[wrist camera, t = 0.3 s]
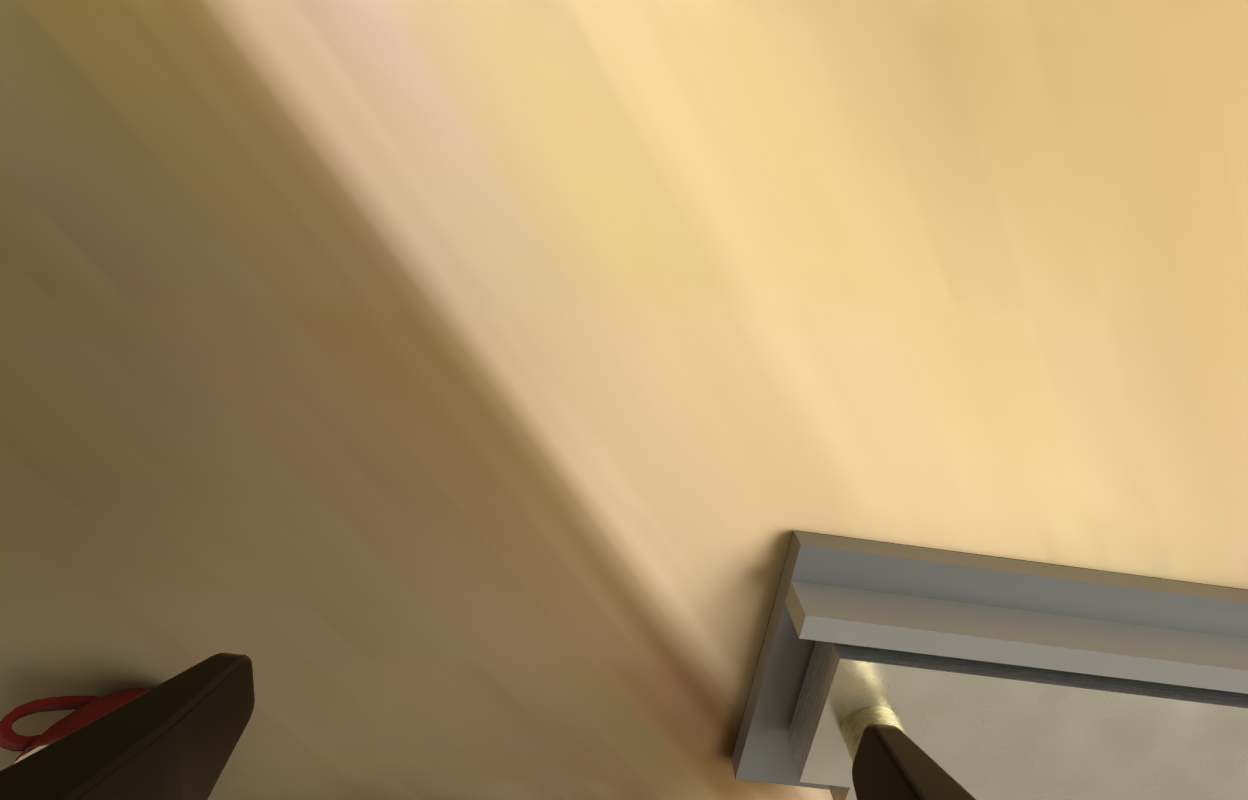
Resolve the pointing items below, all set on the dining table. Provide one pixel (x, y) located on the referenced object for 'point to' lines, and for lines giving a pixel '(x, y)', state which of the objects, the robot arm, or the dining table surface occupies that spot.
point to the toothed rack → (1021, 728)
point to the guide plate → (979, 626)
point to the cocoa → (84, 714)
